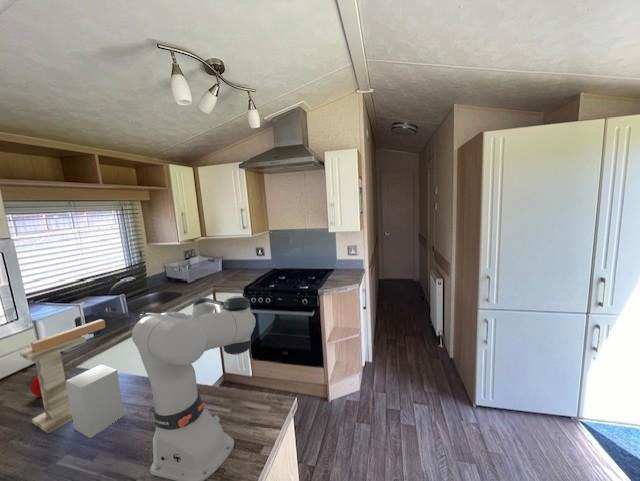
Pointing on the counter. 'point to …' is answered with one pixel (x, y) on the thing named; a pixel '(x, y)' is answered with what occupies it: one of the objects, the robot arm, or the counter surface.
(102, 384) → the pedestal
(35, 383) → the fruit
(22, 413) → the counter surface
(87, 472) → the counter surface
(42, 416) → the tall stand
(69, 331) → the bar
